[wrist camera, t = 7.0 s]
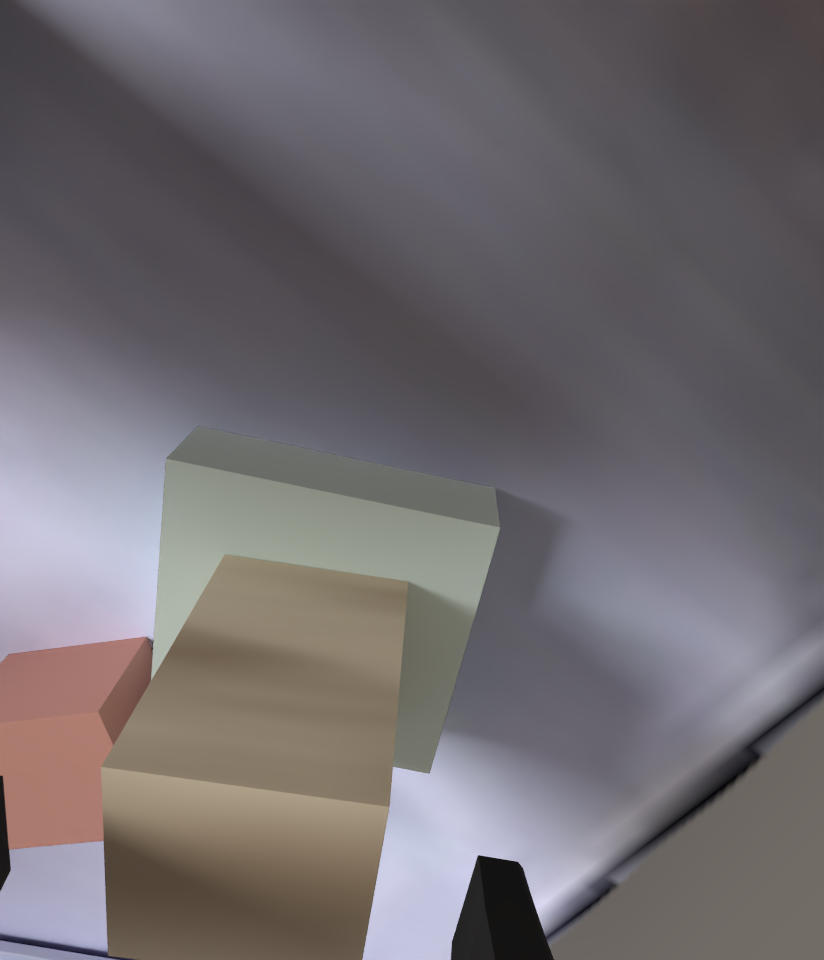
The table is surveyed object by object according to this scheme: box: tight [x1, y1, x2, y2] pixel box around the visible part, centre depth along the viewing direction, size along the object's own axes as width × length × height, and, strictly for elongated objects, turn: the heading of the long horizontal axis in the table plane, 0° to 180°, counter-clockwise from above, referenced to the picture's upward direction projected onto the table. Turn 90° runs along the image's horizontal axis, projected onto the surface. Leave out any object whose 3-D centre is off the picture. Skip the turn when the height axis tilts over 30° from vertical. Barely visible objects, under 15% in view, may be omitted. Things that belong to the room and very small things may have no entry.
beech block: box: [101, 555, 408, 960], centre depth 13 cm, size 4×4×6 cm
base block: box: [151, 426, 500, 773], centre depth 17 cm, size 7×7×2 cm
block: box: [0, 637, 153, 849], centre depth 19 cm, size 4×4×3 cm
